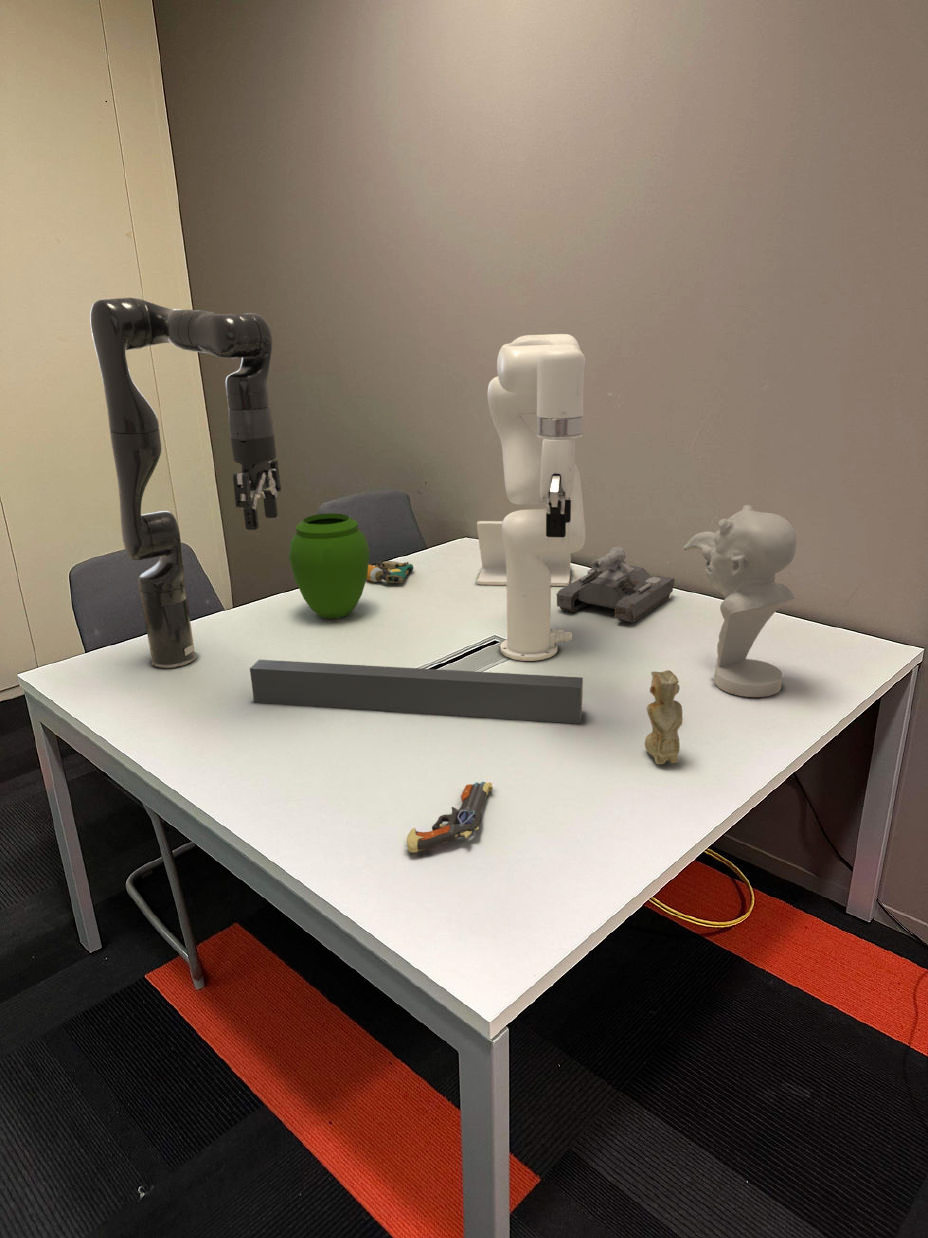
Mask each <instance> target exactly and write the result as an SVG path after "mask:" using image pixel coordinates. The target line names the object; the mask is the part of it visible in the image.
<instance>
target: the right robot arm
mask: <svg viewBox="0 0 928 1238" xmlns="http://www.w3.org/2000/svg"><path fill="white" fill-rule="evenodd" d="M496 360H497V361H496V373H497V376H495V377H493V378H492V379H491V380H490V381H489V383H488V387H487V404H488V411H489V415H490V417H491V420H492V423H493V425H494V428H495V430H496V432H497V435H498V438H499V440H500V444H501V445H500V446H501V453H502V465H503V478H504V479H503V480H504V488H505V493H506V498H507V499H508V501H509V502H510V503H511V504H513V505H518V506H534V505H546V506H547V507H546V508H531V509H530V508H529V509H528V508H527V509H519V510H514V511H512V512H510V513H508V514H507V515H505V517H504V518H503V520H502V521H503V522H502V538H503V544H504V550H505V558H506V576H507V585H506V639H505V640H503V641H502V642H501V643H500V646H499V647H500V653H501V654H502V655H503V656H504V657H506V658H508V659H512V660H514V661H515V660H516V661H522V662H535V661H536V662H537V661H543V660H547V659H550V658H552V657H554V656H555V655H556V654H557V652H558V643H559V642H568V641H569V642H570V641H572V640H573V633H572V632H571V631H563V629H556V630H553V629H552V628H551V625H552V621H551V618H552V616H551V613H552V609H551V608H552V586H551V575H550V571H549V569H548V568H547V566H546V565H545V564H544V563H543V562H542V561H541V560H540V559H539V556H540V555H546V554H562V553H570V554H573V553H577V552H579V551H581V550H582V549H583V548H584V546H585V543H586V538H587V537H586V534H587V533H586V532H587V531H586V520H585V510H584V502H583V501H584V499H583V489H582V480H581V475H580V471H579V468H578V465H577V464H576V440H577V439H580V438H583V437H584V397H585V393H584V391H585V389H584V388H585V376H586V371H587V370H586V369H587V366H586V358H585V355H584V353H583V352H582V350H581V346H580V345H579V341H578V340H577V338H576V337H574V336H573V335H571V334H567V333H551V334H527V335H521V336H519V337H516V338H515V339H514V340H513V341H512V342H509V343H504V344H503V345H502V346H501V347H500V348H499V351H498V355H497V359H496ZM521 415H536V428H534V426H533V425H532V424H531V423H530V422H529V421H528V420H526V419H525V417H523V416H521Z"/></svg>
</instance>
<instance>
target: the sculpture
mask: <svg viewBox="0 0 928 1238" xmlns="http://www.w3.org/2000/svg"><path fill="white" fill-rule="evenodd" d="M650 673H651V684H650V687H649V693H650V694H651V695H652V696H653V697H654V701H653V702H650V703H648V704H647V706H646V713H647V715H648V718H649V721H650V724H651V727H652V730H651V731H652V732H650V733H649V734H647V735H646V736H645V739H644V748H645V751H646V752H647V753H648V754H649V755H651V756H652V757H653V758H654V762H655V764H657V765H664V764H666V762H668V763H669V764H676V763H678V759H679V755H678V754H679V752H680V748H681V745H680V737H679V729H680V728H681V727H682V725H683V723H684V722H683V720H684V719H683V717H684V716H683V706H682V703H680V702H679V701H678V700H675V697H676V695H678V693H679V692H680V684H679V682H680V680H679V678H678V677H677V675H675V673H674V672H672V671H671V670H670V669H669V670H664V671H651V672H650Z"/></svg>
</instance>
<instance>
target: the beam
mask: <svg viewBox="0 0 928 1238" xmlns="http://www.w3.org/2000/svg"><path fill="white" fill-rule="evenodd" d="M249 674H250V681H251V690H252V697H253V703H257V704H272V705H274V704H275V705H287V706H288V705H289V706H304V707H317V708H318V707H319V708H331V709H333V708H334V709H347V710H364V711H365V710H366V711H377V712H378V711H379V712H395V713H409V714H410V713H411V714H425V715H440V716H457V717H471V718H485V719H503V720H516V721H529V722H530V721H531V722H547V723H562V724H578V725H581V723H582V717H583V697H584V696H583V694H584V677H579V676H563V675H562V676H561V675H545V674H544V675H543V674H526V673H525V674H524V673H508V672H491V671H490V672H488V671H471V670H455V669H436V668H416V667H399V666H385V665H384V666H383V665H382V666H381V665H365V664H364V665H363V664H362V665H361V664H347V663H346V664H344V663H327V662H311V661H309V662H308V661H291V660H273V659H258V660H257V661H256V662H254V664H253V665H252V666H251V667H249Z"/></svg>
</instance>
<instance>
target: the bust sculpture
mask: <svg viewBox="0 0 928 1238" xmlns="http://www.w3.org/2000/svg"><path fill="white" fill-rule="evenodd" d="M697 549H698V550H701V551H702V556H703V558H704V559H705V561H706V562H705V563H704V571H705V573H706V576H707V578H708V580H709V581H710V584H711V585H712V587H713V588H714V589H716V590H717V591H718V592H719V593H720V594H721V595H722V596H724V599H723V600H722V602H721V603H720V605H719V606H720V607H719V609H720V613H721V617H722V619H723V622H722V624H721V627H720V631H719V634H718V642H717V648H716V652H717V653H716V654H717V657H716V659H717V660H716V666H715V667H714V678H713V679H714V680H713V682H714V684H715V686H717V687H718V688H719V689H720V690H722V691H723V692H726V693H728V694H732V695H735V696H740V697H745V698H746V697H747V698H765V697H770V696H774V695H776V694H777V693H779V692H780V691H781V689H782V684H783V676H784V675H783V672H782V671H781V669H779V668H778V667H777V666H775V665H773V664H771V663H768V662H766V661H762V660H758V659H752V658H748V655H749V652H750V650H751V648H752V647H753V645H754V642H755V641H756V640H757V637H758V636H759V634H760V633H761V631H762V630H763V628H764V627H765V626H766V624H767V623H768V621H769V620H770V619H771V617H772V616H773V615H774V614H775V613H776V612H777V611H779V609H780V608H781V607H783V606H784V605H785V604H787V603H788V602H790V601H791V600H794V599H796V596H795V594H794V593H793V591H792V590H791V589H790V588H789V586H788V585H785V584H783V583H779V582H776V574H778V573H780V572H782V571H784V570H785V569H786V568H787V567H788V566H789V565H790V564H791V563H792V561H793V560H794V557H795V554H796V551H797V550H796V549H797V534H796V531H795V529H794V527H793V525H792V524H791V523H790V522H789V521H788V520H787V519H786V518H785V517H783V516H781V515H779V514H777V513H771V512H763V511H761V512H760V511H755V510H754V508H753V507H752V506H751V504H745V505H743V507H742V509H741V510H739V511H737V512H735V513H734V514H733V515H731V516H730V517H729V518H727V519H726V518H721V519H720V520H719V521H718V528H717V530H716V532H713V531H701V532H698V533H696V534H695V535H693V536H692V537H691V538H690V539H689V541H688V542H687V543H686V544H684V546H683V547H682V550H683V552H687V551H692V550H697Z"/></svg>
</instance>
